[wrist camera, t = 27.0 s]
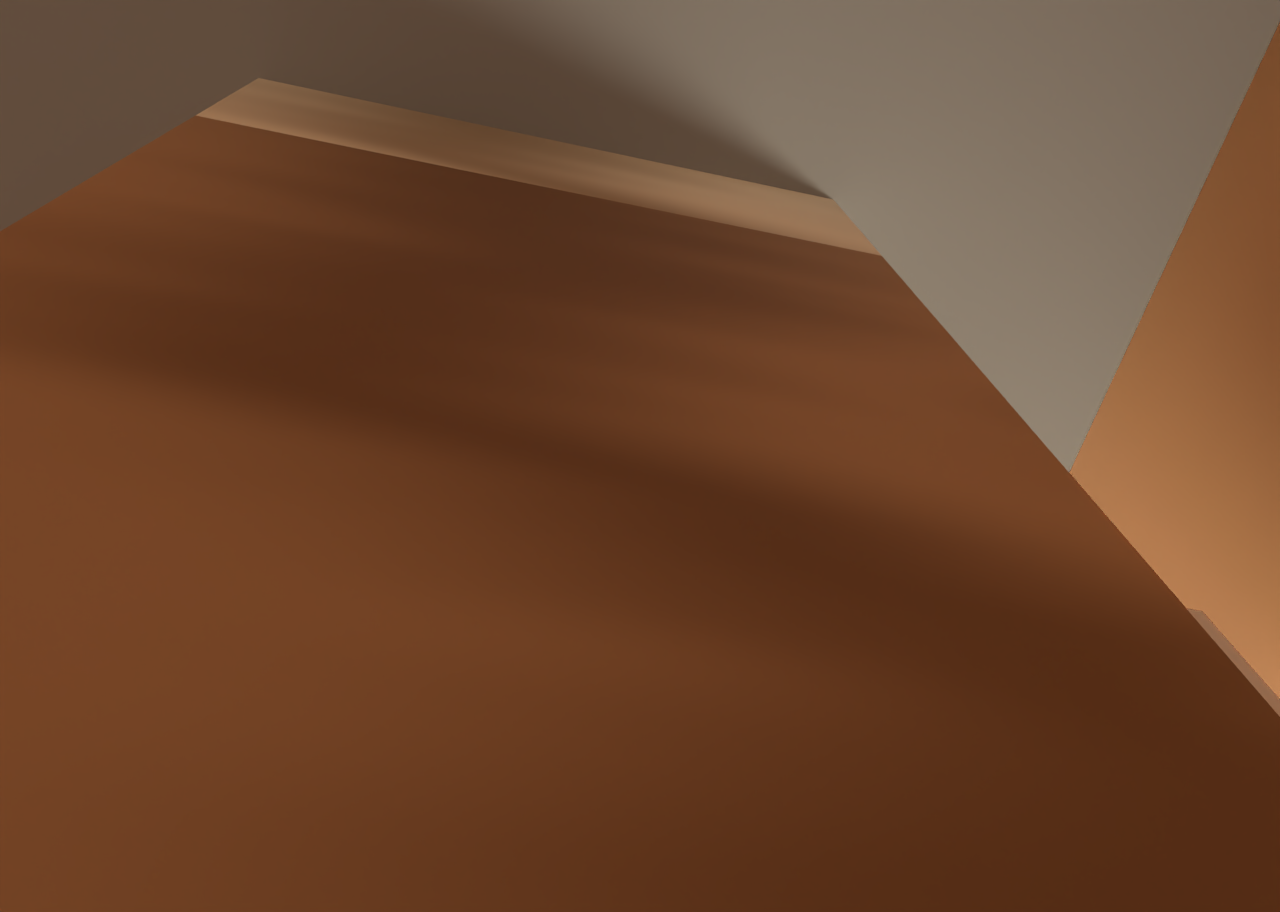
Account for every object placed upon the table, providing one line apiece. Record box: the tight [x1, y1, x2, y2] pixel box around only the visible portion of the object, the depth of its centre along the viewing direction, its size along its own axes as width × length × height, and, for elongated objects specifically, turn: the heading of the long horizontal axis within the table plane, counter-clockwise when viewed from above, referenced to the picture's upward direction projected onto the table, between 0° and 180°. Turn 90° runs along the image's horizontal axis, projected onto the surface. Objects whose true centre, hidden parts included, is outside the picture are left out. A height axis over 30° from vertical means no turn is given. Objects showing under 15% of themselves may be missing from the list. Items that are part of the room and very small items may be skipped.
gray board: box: [0, 0, 1280, 472], centre depth 14 cm, size 14×18×1 cm
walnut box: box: [0, 78, 1280, 912], centre depth 9 cm, size 6×10×10 cm, turn 168°
